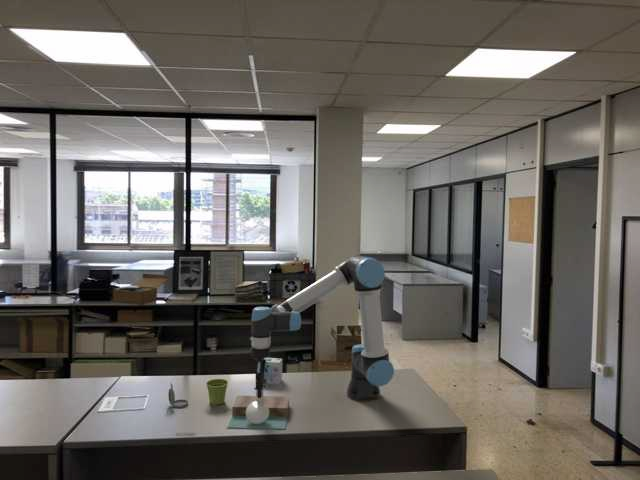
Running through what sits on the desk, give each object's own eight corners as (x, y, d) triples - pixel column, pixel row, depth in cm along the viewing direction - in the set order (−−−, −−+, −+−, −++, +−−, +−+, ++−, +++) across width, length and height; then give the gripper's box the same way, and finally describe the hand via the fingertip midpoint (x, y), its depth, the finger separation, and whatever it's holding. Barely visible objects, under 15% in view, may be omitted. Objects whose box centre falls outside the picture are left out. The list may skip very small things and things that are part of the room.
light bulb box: (257, 382, 232) (257, 360, 231) (261, 378, 239) (261, 356, 238) (278, 384, 230) (279, 362, 230) (282, 380, 237) (282, 358, 236)
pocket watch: (191, 403, 205) (191, 380, 205) (177, 410, 198) (178, 386, 197) (176, 400, 209) (176, 377, 208) (162, 406, 201) (162, 383, 201)
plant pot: (223, 407, 202) (223, 387, 201) (202, 405, 204) (202, 385, 203) (231, 399, 211) (231, 379, 211) (211, 397, 213) (211, 378, 212)
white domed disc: (270, 403, 192) (269, 401, 191) (268, 425, 186) (267, 423, 184) (247, 403, 192) (247, 400, 191) (244, 424, 186) (244, 422, 184)
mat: (287, 417, 194) (287, 416, 194) (285, 429, 183) (285, 428, 183) (232, 416, 194) (232, 415, 193) (227, 428, 183) (227, 427, 183)
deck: (289, 405, 206) (289, 396, 205) (287, 417, 194) (287, 408, 193) (237, 404, 205) (237, 395, 205) (232, 416, 194) (232, 406, 193)
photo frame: (105, 396, 209) (149, 394, 213) (105, 399, 209) (149, 396, 213) (97, 410, 194) (145, 407, 198) (97, 413, 194) (145, 410, 198)
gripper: (253, 341, 198) (252, 398, 200) (248, 350, 185) (247, 411, 187) (271, 342, 198) (270, 398, 200) (268, 351, 185) (267, 411, 187)
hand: (259, 404), depth 193 cm, fingers closed
